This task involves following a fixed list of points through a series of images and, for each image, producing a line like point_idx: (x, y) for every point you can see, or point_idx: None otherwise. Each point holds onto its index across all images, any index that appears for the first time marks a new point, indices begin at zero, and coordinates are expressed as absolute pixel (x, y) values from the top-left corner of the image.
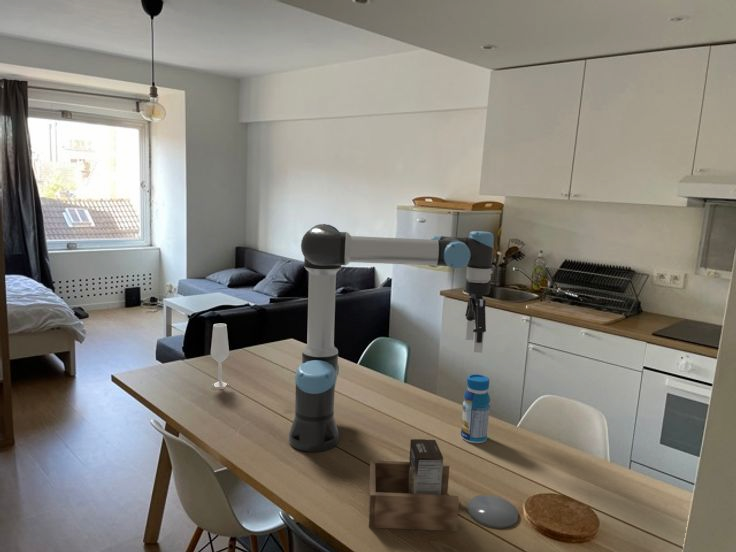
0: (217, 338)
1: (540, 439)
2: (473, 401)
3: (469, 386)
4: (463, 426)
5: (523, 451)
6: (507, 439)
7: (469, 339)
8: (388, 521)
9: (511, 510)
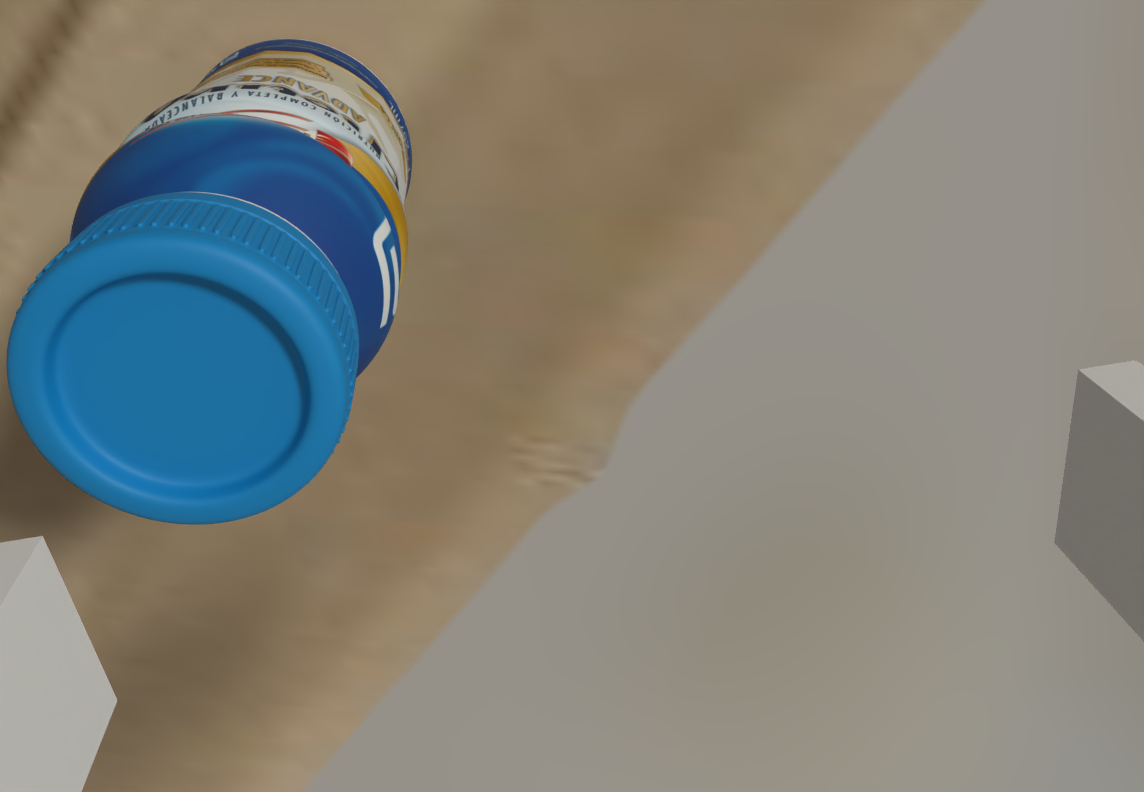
0: None
1: (434, 591)
2: (71, 235)
3: (84, 230)
4: (218, 72)
5: None
6: (365, 398)
7: (1075, 464)
8: None
9: None
